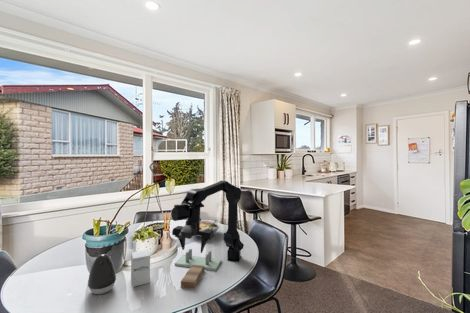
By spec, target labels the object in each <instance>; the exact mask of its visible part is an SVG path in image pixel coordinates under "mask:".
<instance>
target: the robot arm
mask: <svg viewBox="0 0 470 313" xmlns="http://www.w3.org/2000/svg"><path fill="white" fill-rule="evenodd" d="M221 191H222V192H223V193H225V199H226V202H227V203H228V209H227V211H228V213H227V230H226V232H223V241H224V244H225V246H226V247H227V248H228V249H227V253H226V254H227V261H231V262H240V260H241V259H242V255H241V252H242V250H243V249H244V245H245V244H243V242H242V241H241V237H240V236H241V235H240V233H239V231H238V205H239V202H240V201H241V197H242V189H241V188H240V187H238V186H235V185H234V184H232V183H230V182H229V181H227V180H219V181H217V182H215V183H213V184H210V185H207V186H204V187H202V188H201V187H200V188H193V189H189V190H187V193H186V195H185V197H184V199H182V200H181V202H180V204H174V205H173V208H172V210H171V211H170V214H171V215H170V216H171V219H172V220H173V221H174V222H178V221H182V220H186V221H185V225H184V226H182V225H178V226H175V227H174V228H173V229H172V231H171V234H172V235H173V236H174V237H175V238H177V239H178V241H179V245H180V246H181V249H182V251H184V250H185V245H186V239H187V240H190V239H192V238H193V237H194V236H195V237H196V235H200V236H201V237H200V236H199V237H200V241H201V243H200V253H203V251H204V250H205V247H206V244H207V243H208V241H209V240H210V241H211V239H213V238H214V237H215V233H214V231H213V230H207V229H206V230H205V231H199V230H200V229H201V227H200V221H201V220H202V218H201V208H204V207H205V205H204V203H203V202H204V201H206V198H207V197H210V196H213V195H214V194H216V193H218V192H221Z"/></svg>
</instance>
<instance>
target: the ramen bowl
mask: <svg viewBox="0 0 470 313" xmlns="http://www.w3.org/2000/svg"><path fill="white" fill-rule="evenodd" d="M220 226H221V224H220V223H219V222H218V221H217V219H215V220H209V219H201V221H200V227H201V229H200V230H199V231H205V230H206V229H207V230H213V231H214V234H215V233H216V232H217V231H218V230H219V228H220ZM196 236H197V237H200V238H202V237H201V236H200V235H196ZM196 236H195V237H196Z"/></svg>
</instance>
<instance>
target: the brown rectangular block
mask: <svg viewBox="0 0 470 313" xmlns="http://www.w3.org/2000/svg"><path fill="white" fill-rule="evenodd" d="M204 272H205V269H204V266H202V265H192V266H191V267H189V269H188V270H187V272H186V274H185V275H184V276H183V277H182V279H181V280H180V288H185V289H193V290H194V289H195V288H196V286H197V284H198V282H199V280H200V279H201V277H202V276H203V273H204Z"/></svg>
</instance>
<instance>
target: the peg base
mask: <svg viewBox="0 0 470 313" xmlns="http://www.w3.org/2000/svg"><path fill="white" fill-rule="evenodd" d="M221 263H222V259H221V258H213V257H212V251H211V250H209V251H207V253H206V254H205V257H204V256H196V255H193V249H192V248H189V249H188V251H185V254H182V255H181V256H180V257H179V259H177V260H175V262H174V266H178V267H183V268H190V267H191V266H192V265H202V266H204V271H213V272H216V271H217V270H218V268H219V266H220V265H221Z"/></svg>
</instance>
